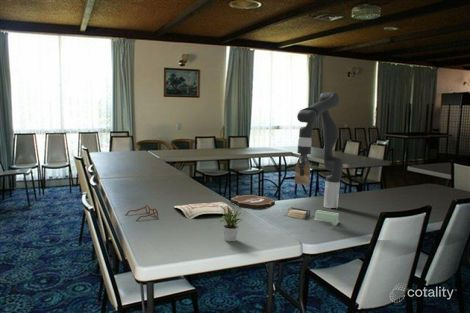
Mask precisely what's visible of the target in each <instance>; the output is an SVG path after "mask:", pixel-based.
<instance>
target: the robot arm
mask: <svg viewBox="0 0 470 313" xmlns="http://www.w3.org/2000/svg"><path fill="white" fill-rule="evenodd" d="M339 103H340V95H339V93H338V92H334V91H331V92H329V91H327V92H321V93H320V94H319V101H318V102H314V103H313V104H312V105H310V106H308V107H305V108H302V109H300V110H299V111H298V112H297V116H296V117H297V118H296V119H297V120H298V122H300V123H307V124H306V125H305V126H300V127H299V133H298V140H297V142H298V143H297V154H300V156H299V159H298V161H297V163H299V168H300V176H304V169H305V165H306V164H309V157H308V155H311V153H312V138H313V137H312V136H313V130H314V126H315V123H316V120H317V117H318V116H320V115H321V119H322V122H321V123H322V134H323V135H322V136H323V147H324V150H323V151H324V153H323V163H324V164H323V165H324V168H325V170H327V171H331V172H332V174H331V175H326V177H325V184H324V195H323V207H324V208H326V209H331V208H336V209H338V208H339V195H340V188H341V187H340V186H341V178H342V175H343V169H344V168H343V167H344V161H343V159H342V158H341V157H338V156H337V157H336V156H333V151H334V150H333V149H334V147H335V145H336V143H337V141H338V138H339V130H338V129H339V128H338V125H337V123H336V122H335V120H334V119H333V118H332V116H331V114H330V111H329V110H331V109H332V108H336V107H337V106H338V105H339ZM303 163H304V164H303ZM301 165H302V166H301Z"/></svg>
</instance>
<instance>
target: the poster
mask: <svg viewBox="0 0 470 313" xmlns="http://www.w3.org/2000/svg"><path fill="white" fill-rule="evenodd" d="M221 206H222V207H224V209H225V211H226V213H228V207H229V209H230V211H232V210H233V212H232V213H235V214H236V211H235V209H234V208H232V207H231V206H230V205H229V204H227V203H225V202H223V201H211V202H206V203H205V202H204V203H202V202H200V203H191V204H184V205H174V206H173V207H174V208H177V209H179V210H181V211H182V213H183V214H184V215H185V217H186V218H187V219H190V220H192V219H194V218H195V217H198V216H200V215H203V214H204V215H205V214H222V213H223V214H224V212H225V211H224V209H223V208H222V207H221ZM227 206H228V207H227ZM219 209H220V210H219ZM223 211H224V212H223ZM221 212H222V213H221ZM226 213H225V214H226ZM223 214H222V215H223ZM225 214H224V215H225Z"/></svg>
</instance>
